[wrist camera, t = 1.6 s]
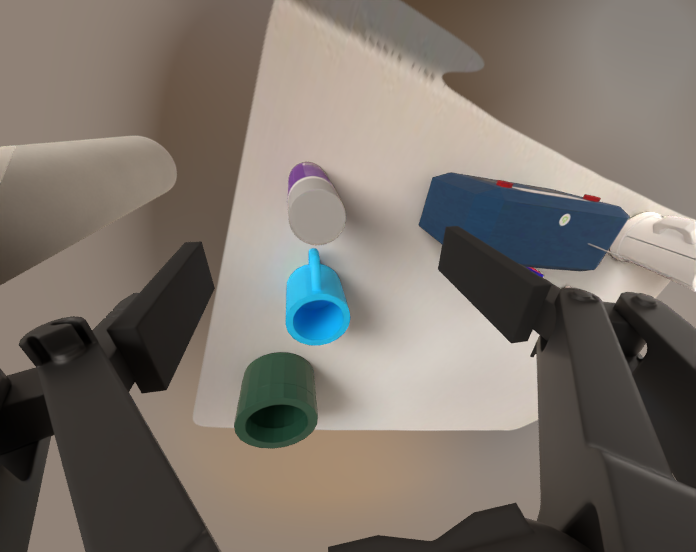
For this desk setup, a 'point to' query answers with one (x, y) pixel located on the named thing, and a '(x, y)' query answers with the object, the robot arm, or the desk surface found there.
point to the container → (314, 205)
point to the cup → (660, 246)
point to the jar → (276, 401)
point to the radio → (525, 221)
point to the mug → (316, 303)
